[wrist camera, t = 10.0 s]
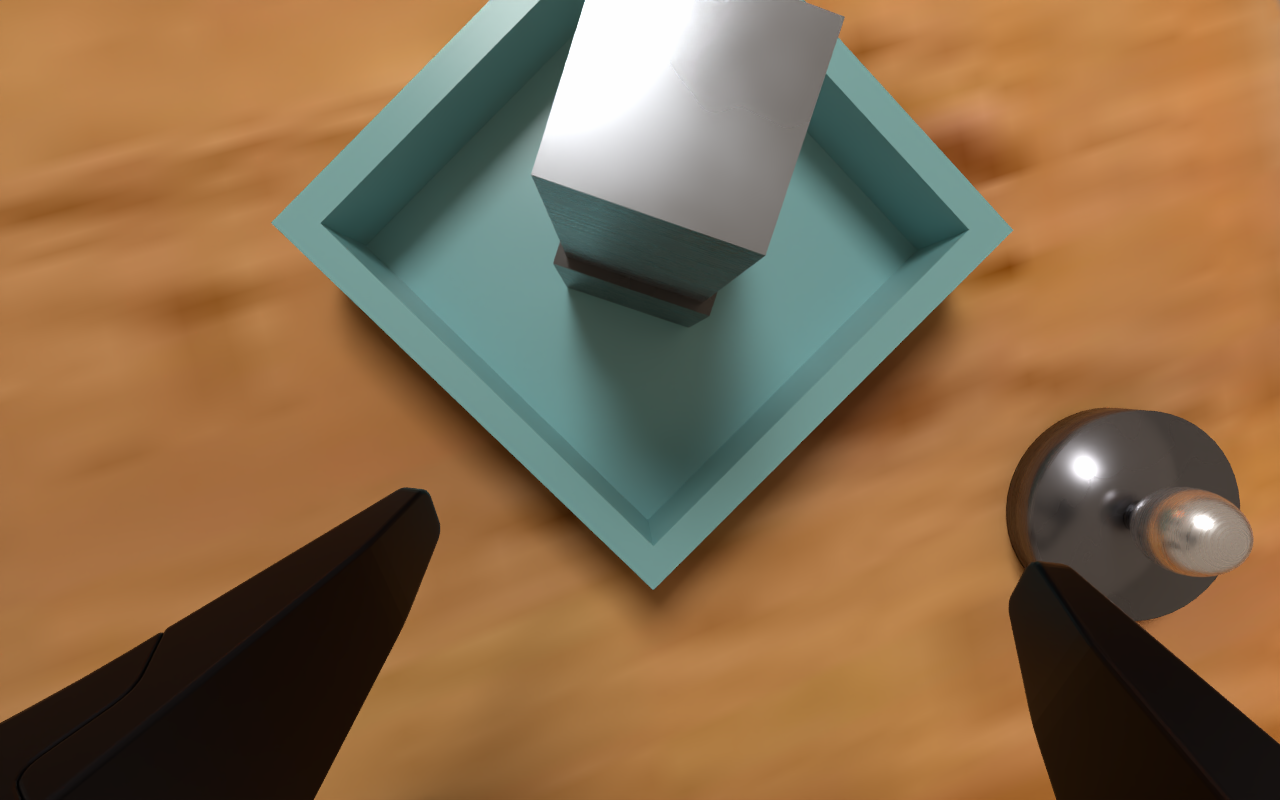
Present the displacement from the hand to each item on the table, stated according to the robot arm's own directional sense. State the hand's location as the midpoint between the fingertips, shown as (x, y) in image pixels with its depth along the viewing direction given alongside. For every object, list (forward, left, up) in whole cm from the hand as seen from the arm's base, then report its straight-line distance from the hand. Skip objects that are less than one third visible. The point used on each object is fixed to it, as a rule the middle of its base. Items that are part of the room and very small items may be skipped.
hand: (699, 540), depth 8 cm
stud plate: (+11, -15, -13) cm, 23 cm away
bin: (+5, +5, -13) cm, 15 cm away
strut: (+5, +5, -12) cm, 14 cm away
